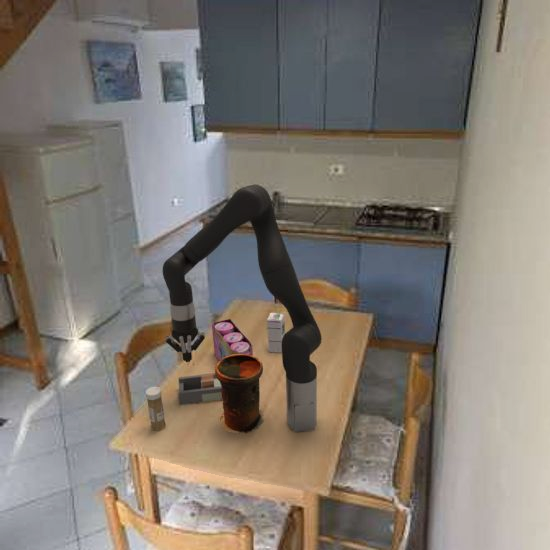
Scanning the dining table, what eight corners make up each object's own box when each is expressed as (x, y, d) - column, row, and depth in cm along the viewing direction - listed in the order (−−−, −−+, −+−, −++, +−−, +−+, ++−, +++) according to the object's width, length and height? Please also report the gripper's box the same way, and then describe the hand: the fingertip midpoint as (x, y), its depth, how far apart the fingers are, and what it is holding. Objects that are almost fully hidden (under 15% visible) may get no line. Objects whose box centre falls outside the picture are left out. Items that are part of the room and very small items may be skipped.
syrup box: (282, 353, 190) (282, 320, 184) (267, 352, 191) (266, 318, 186) (285, 345, 195) (284, 313, 190) (271, 344, 196) (269, 312, 191)
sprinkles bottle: (166, 429, 152) (161, 393, 146) (151, 432, 150) (145, 396, 145) (165, 420, 156) (160, 384, 150) (150, 423, 155) (145, 387, 149)
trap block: (214, 388, 166) (213, 380, 164) (202, 389, 165) (201, 382, 164) (213, 381, 169) (213, 373, 168) (202, 382, 169) (201, 375, 167)
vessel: (234, 399, 164) (231, 348, 156) (271, 412, 158) (271, 359, 150) (209, 425, 153) (205, 371, 145) (249, 440, 147) (247, 385, 138)
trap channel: (244, 396, 166) (243, 385, 164) (179, 404, 162) (178, 393, 161) (241, 380, 174) (240, 369, 172) (179, 388, 171) (178, 377, 169)
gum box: (256, 380, 174) (255, 347, 169) (235, 386, 171) (233, 352, 166) (232, 348, 194) (230, 318, 189) (213, 353, 191) (210, 322, 186)
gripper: (161, 321, 151) (167, 369, 158) (204, 317, 153) (208, 364, 160) (162, 310, 158) (167, 356, 165) (203, 306, 160) (207, 352, 167)
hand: (187, 360), depth 162 cm, fingers closed
